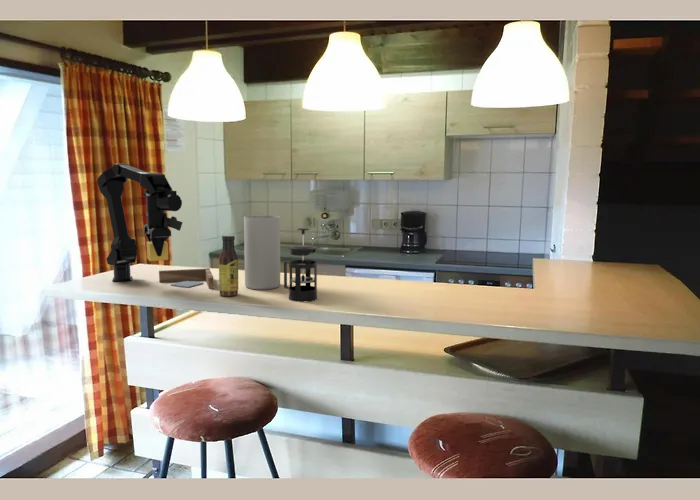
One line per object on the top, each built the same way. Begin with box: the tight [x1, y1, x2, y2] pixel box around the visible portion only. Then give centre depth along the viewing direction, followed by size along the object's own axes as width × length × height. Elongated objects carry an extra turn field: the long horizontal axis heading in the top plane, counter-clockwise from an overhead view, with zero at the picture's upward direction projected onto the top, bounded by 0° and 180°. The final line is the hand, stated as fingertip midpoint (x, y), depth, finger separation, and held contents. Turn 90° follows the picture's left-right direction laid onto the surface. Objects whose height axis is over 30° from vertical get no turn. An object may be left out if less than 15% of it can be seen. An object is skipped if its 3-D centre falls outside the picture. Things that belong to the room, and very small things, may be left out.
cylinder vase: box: [243, 214, 281, 291], centre depth 183 cm, size 12×12×25 cm
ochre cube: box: [146, 240, 169, 262], centre depth 179 cm, size 6×6×6 cm
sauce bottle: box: [218, 234, 239, 297], centre depth 170 cm, size 7×6×20 cm
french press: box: [283, 227, 318, 303], centre depth 166 cm, size 12×9×23 cm
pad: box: [170, 280, 204, 289], centre depth 185 cm, size 8×8×1 cm
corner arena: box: [158, 267, 215, 290], centre depth 185 cm, size 18×18×4 cm
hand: (157, 254), depth 179 cm, fingers closed on ochre cube, 6 cm apart
